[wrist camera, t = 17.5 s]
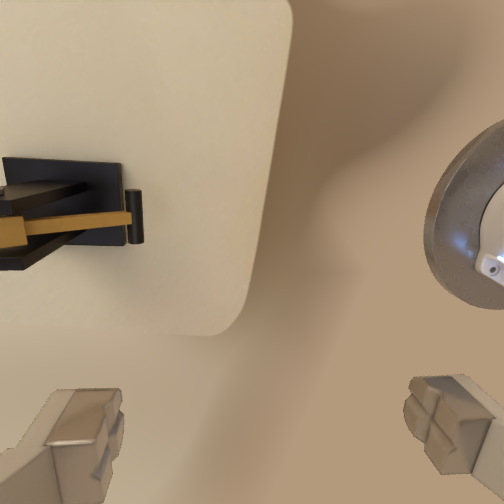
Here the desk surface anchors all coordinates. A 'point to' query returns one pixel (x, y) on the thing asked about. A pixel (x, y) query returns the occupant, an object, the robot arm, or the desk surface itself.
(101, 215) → the lever
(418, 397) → the robot arm
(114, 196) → the switch bracket
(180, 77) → the desk surface
